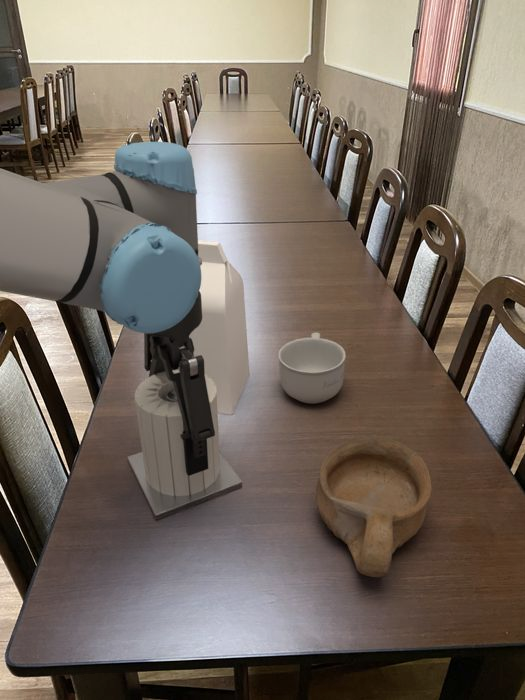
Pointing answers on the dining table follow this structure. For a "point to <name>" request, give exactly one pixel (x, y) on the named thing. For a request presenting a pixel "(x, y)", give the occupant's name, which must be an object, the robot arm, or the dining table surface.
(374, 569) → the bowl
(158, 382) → the paper towel roll
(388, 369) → the dining table surface
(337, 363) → the teacup
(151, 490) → the towel stand
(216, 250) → the milk
